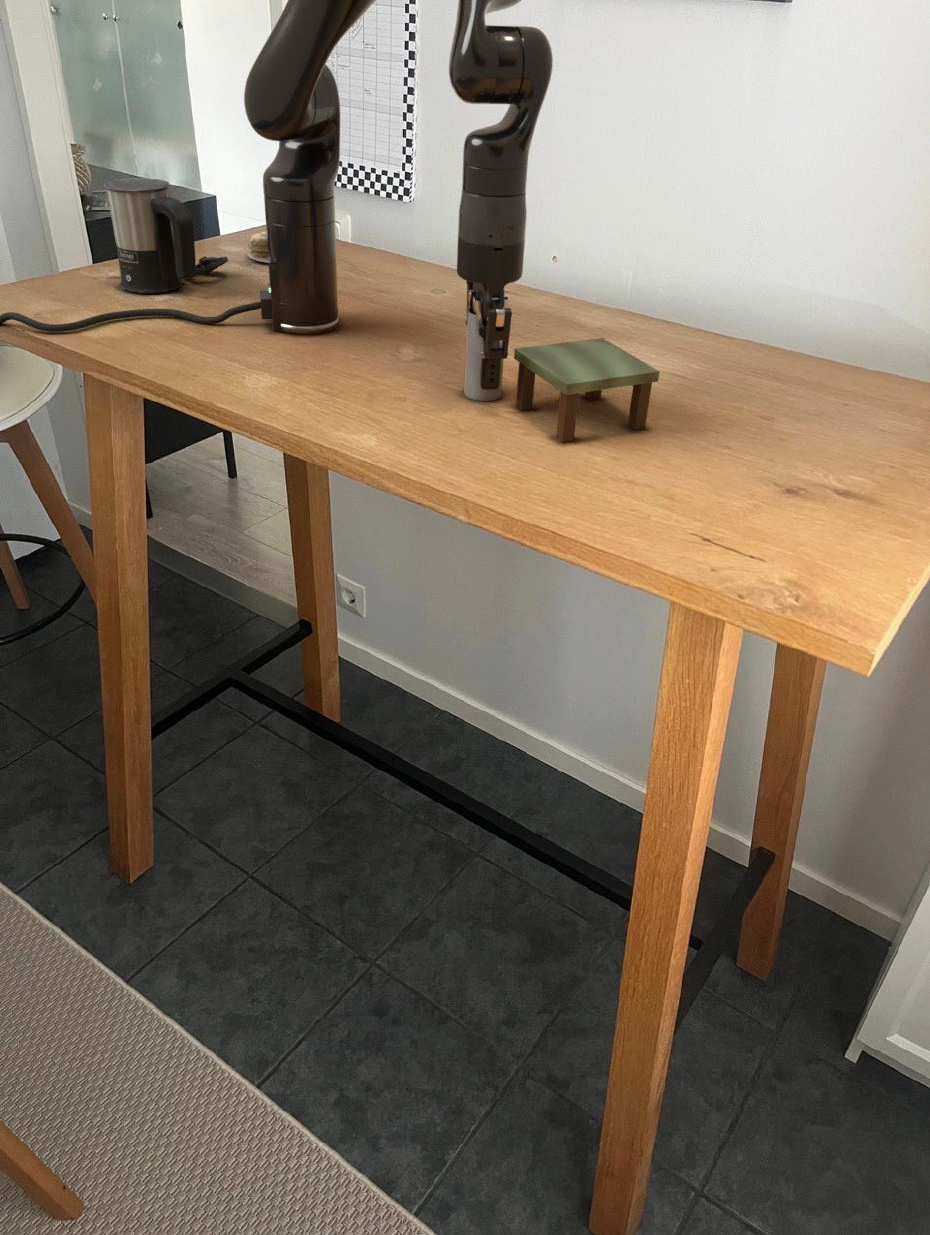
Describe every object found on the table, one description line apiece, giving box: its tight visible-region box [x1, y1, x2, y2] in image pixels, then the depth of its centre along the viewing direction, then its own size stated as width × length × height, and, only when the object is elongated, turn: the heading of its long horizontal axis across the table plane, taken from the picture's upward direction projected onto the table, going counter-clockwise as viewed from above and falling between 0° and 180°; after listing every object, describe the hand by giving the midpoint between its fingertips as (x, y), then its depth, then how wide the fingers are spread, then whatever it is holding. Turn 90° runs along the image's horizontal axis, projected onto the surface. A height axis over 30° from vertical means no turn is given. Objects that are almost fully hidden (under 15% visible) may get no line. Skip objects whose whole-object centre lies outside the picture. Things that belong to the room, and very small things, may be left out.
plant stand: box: [513, 337, 661, 443], centre depth 114 cm, size 12×12×7 cm
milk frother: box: [103, 177, 229, 294], centre depth 150 cm, size 14×16×15 cm
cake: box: [246, 231, 268, 263], centre depth 167 cm, size 10×10×5 cm
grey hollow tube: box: [463, 307, 505, 402], centre depth 117 cm, size 4×4×10 cm
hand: (483, 377), depth 119 cm, fingers open, 6 cm apart
